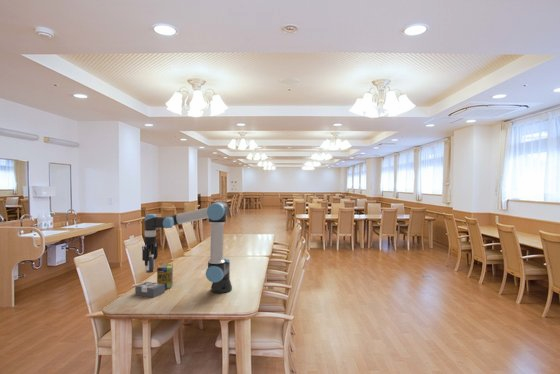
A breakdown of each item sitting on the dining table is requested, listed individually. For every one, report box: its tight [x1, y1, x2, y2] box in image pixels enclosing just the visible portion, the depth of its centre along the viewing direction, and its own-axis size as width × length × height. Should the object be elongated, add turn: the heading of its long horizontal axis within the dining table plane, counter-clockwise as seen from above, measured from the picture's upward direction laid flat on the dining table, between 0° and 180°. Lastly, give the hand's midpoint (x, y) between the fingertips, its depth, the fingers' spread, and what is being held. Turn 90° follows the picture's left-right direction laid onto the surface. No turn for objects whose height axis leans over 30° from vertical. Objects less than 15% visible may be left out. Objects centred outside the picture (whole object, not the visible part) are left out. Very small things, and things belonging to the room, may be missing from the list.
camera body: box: [134, 280, 166, 299], centre depth 230 cm, size 16×12×7 cm
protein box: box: [156, 262, 174, 289], centre depth 249 cm, size 10×15×16 cm
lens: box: [145, 253, 154, 274], centre depth 230 cm, size 5×5×12 cm
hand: (149, 269), depth 230 cm, fingers closed on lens, 5 cm apart
